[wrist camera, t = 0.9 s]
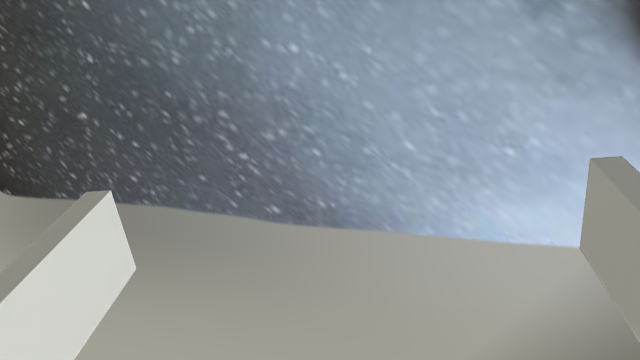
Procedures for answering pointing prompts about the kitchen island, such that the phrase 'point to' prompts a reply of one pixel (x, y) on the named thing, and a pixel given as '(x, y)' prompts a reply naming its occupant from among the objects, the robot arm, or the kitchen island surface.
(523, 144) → the kitchen island surface
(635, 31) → the kitchen island surface
